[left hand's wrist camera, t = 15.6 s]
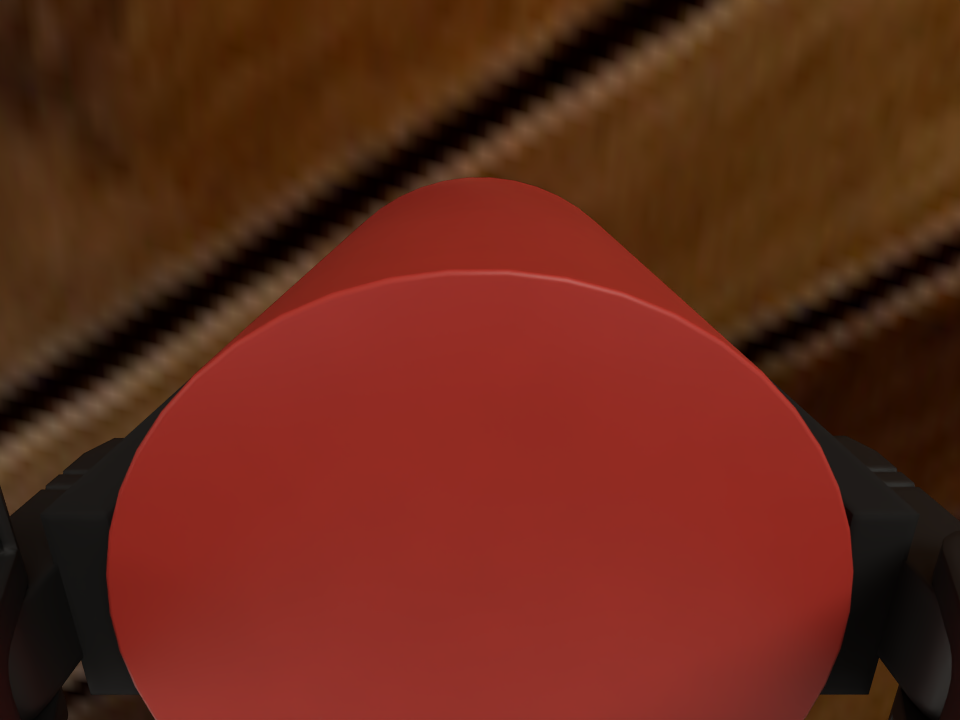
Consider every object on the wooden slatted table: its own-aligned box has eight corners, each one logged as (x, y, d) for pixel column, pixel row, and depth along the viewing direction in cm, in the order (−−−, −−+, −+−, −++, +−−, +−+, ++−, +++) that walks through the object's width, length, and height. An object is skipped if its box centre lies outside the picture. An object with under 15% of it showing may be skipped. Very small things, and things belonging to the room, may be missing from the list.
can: (320, 479, 18) (151, 860, 9) (310, 165, 15) (39, 242, 6) (619, 496, 18) (763, 884, 9) (669, 188, 15) (962, 297, 6)
